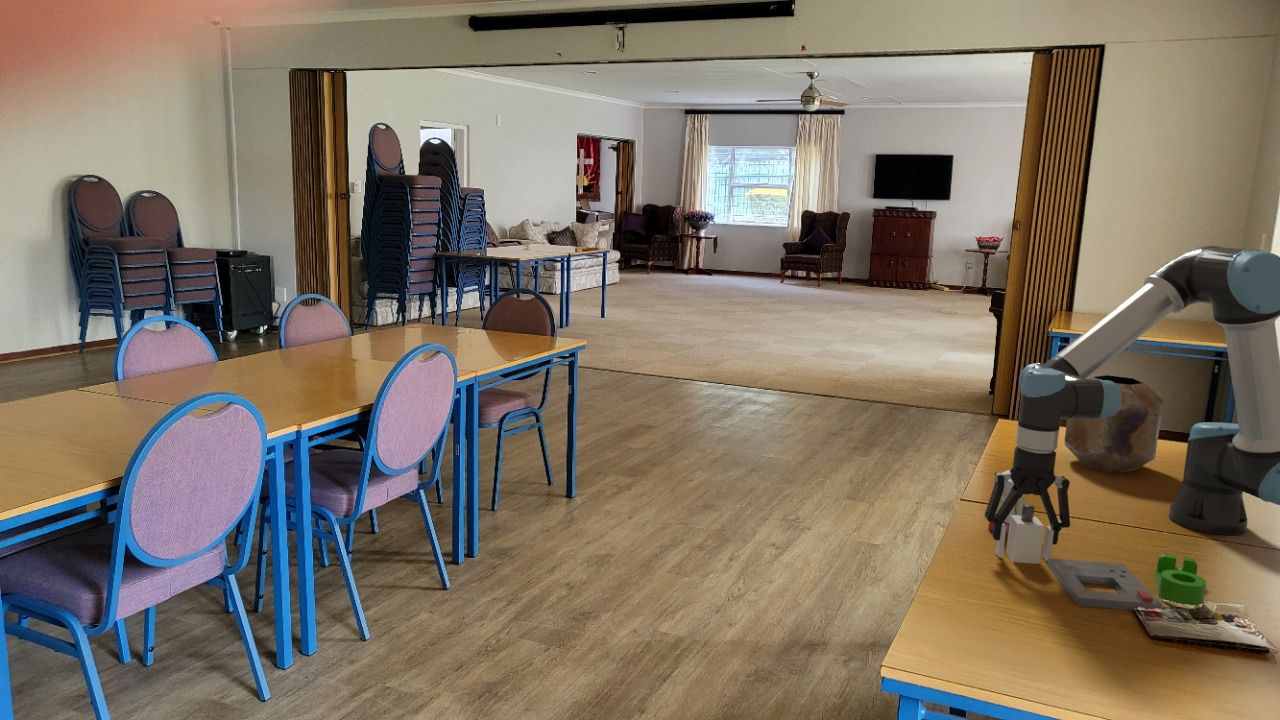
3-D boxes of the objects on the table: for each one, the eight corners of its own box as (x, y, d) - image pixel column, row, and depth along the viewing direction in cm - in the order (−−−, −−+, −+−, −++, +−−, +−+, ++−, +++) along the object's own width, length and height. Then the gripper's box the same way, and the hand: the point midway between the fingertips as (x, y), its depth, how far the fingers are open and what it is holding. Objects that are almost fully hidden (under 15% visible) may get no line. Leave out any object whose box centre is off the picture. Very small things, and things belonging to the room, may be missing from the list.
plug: (1031, 554, 191) (1038, 502, 188) (1038, 564, 186) (1045, 511, 184) (1006, 552, 191) (1012, 500, 189) (1012, 562, 186) (1018, 509, 184)
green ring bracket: (1204, 614, 167) (1208, 589, 166) (1159, 605, 170) (1162, 581, 169) (1195, 582, 180) (1199, 559, 179) (1153, 574, 183) (1156, 552, 182)
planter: (1174, 480, 243) (1187, 390, 238) (1079, 477, 243) (1091, 387, 239) (1131, 455, 265) (1142, 373, 260) (1044, 452, 265) (1054, 370, 260)
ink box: (1010, 536, 200) (1016, 483, 198) (987, 530, 203) (992, 477, 201) (1024, 525, 206) (1030, 474, 204) (1001, 520, 210) (1007, 469, 207)
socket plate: (1122, 571, 183) (1123, 561, 183) (1160, 612, 166) (1162, 601, 165) (1047, 565, 185) (1048, 555, 185) (1078, 605, 167) (1079, 594, 167)
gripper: (1085, 446, 186) (1071, 554, 191) (975, 439, 189) (963, 545, 193) (1099, 457, 179) (1084, 568, 183) (984, 449, 181) (972, 559, 186)
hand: (1022, 556), depth 188 cm, fingers open, 8 cm apart
